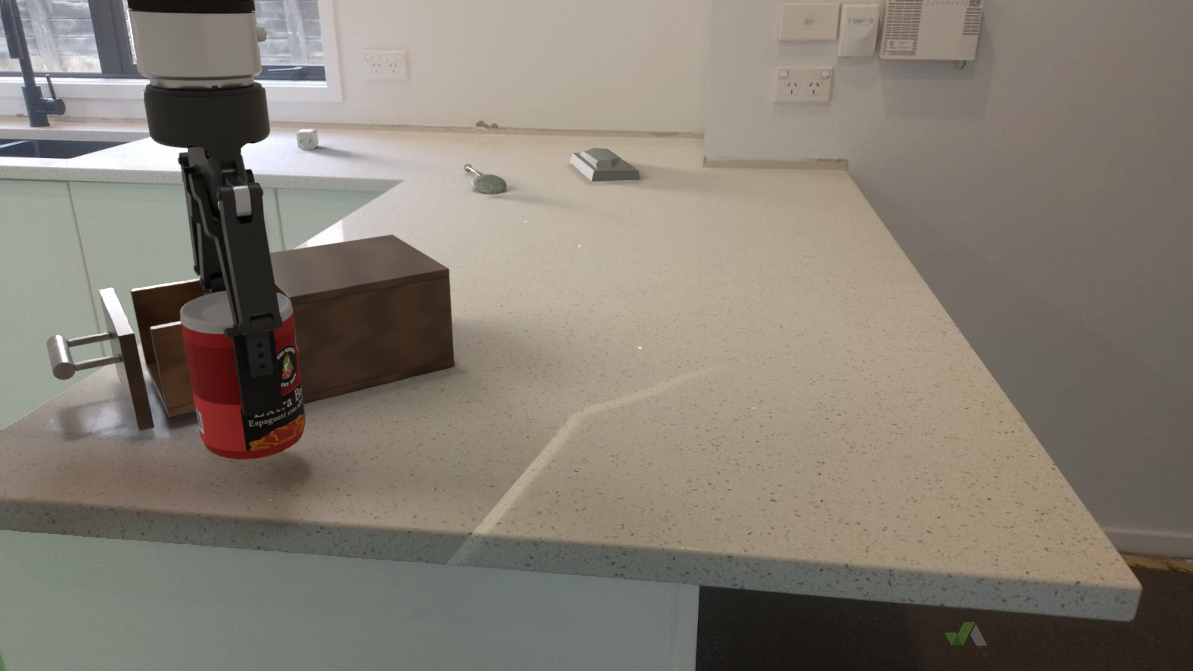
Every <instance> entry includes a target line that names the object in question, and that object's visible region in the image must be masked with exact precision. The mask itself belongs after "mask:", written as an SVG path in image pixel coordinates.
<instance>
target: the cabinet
mask: <svg viewBox="0 0 1193 671" xmlns="http://www.w3.org/2000/svg"><path fill="white" fill-rule="evenodd" d="M270 257H271V263H272V269H273V275H274V281H275V287H276V291H277V292H278V293H280V294H282V295H284V296H286V297H288V298H289V299H290V301H291V304H292V308H293V314H294V321H295V329H296V338H297V348H298V357H299V366H300V375H301V384H302V394H303V403H304V404H306V403H310V402H313V401H319V400H322V399H326V398H330V397H334V396H338V395H339V396H340V395H343V394H346V393H350V392H354V391H359V390H362V389H367V388H370V387H375V386H379V385H383V384H387V383H391V382H395V381H399V380H402V379H407V378H411V377H415V376H419V375H423V374H428V373H430V372H436V371H438V370H439V371H440V370H442V369H447V368H451V367H454V366H455V353H454V352H455V351H454V335H453V316H452V315H453V314H452V299H451V298H452V297H451V278H450V275H451V274H450V268H449V267H447V266H446V265H444V264H442V263H441V262H439V261H437V260H436V259H434V258H432V257H431V256H429V255H427V254H425V252H423V251H421V250H419V249H417V248H416V247H414V246H413V245H411V244H409V243H407V242H405V241H404V240H402V239H400V238H399V237H397V236H396V235H394V234H387V235H380V236H373V237H367V238H366V237H365V238H360V239H354V240H347V241H340V242H333V243H326V244H320V245H314V246H306V247H298V248H293V249H287V250H281V251H280V250H279V251H273V252H270Z"/></svg>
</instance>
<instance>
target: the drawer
mask: <svg viewBox="0 0 1193 671" xmlns="http://www.w3.org/2000/svg"><path fill="white" fill-rule="evenodd" d="M200 278H201V277H199V278H193V279H186V280H181V281H174V282H167V283H162V284H161V283H160V284H155V285H150V286H142V287H137V288H136V287H135V288H130V289H129V292H130V297H131V301H132V307H133V310H134V316H135V321H136V325H137V326H136V327H137V330H138V336H139V341H140V346H141V349H142V354H143V359H144V364H145V368H146V371H147V373H148V375H149V377H150V379H151V382H152V384H153V386H154V388H155V390H156V392H157V394H158V396H159V400H160V401H161V403H162V405H163V408H164V410H165V412H166V414H167V416H168V417H169V418H170V417H171V418H172V417H176V416H179V415H183V414H189V413H192V412H196V408H195V402H194V397H193V391H192V385H191V380H190V374H189V368H188V363H187V357H186V351H185V346H184V340H183V334H182V326H181V320H180V317H181V315H180V310H181V308H182V307H183V306H184V305H185V304H187V303H188V302H190V301H192V300H194V299H196V298H198V297H201V296H204V294H203V293H208V292H209V290H203V287H202V286H201V285H200ZM98 293H99V294H98V296H99V298H100V303H101V308H102V313H103V316H104V321H105V322H104V323H105V326H106V330H107V331H106V332H102V333H101V332H100V333H96V334H89V335H85V336H79V337H72V338H68V339H67V338H66V337H65V336H63V335H60V334H59V335H58V334H57V335H52V336H50V337H49V338H48V339H47V340H46V349H47V354H48V357H49V362H50V367H51V371H52V375H53V377H54V378H55V379H57V380H60V381H67V380H70V379H71V378H73V377H74V375H75V374H76V372H79V371H84V370H89V369H94V368H98V367H104V366H108V365H115V366H114V367H115V370H116V374H117V378H118V380H119V382H120V385H121V388H122V391H123V393H124V396H125V398H126V401H127V404H128V406H129V409H130V412H131V414H132V416H133V419H134V422H135V424H136V427H137V429H138V431H139V432H141V431H146V430H149V429H150V430H151V429H153V428H155V424H154V418H153V414H152V408H151V405H150V400H149V395H148V390H147V385H146V380H145V376H144V372H143V367H142V362H141V357H140V353H139V347H138V342H137V339H136V334H135V332H134V329H133V327H132V325H131V323H130V321H129V319H128V316H127V314H126V313H125V310H124V308H123V306H122V304H121V302H120V300H119V298H118V296H117V293H116V291H115V290H114V288H113V287H107V288H103V289H102V288H101V289H98ZM276 293H278V292H277V291H276ZM105 341H109V343H110V344H109V345H110V348H111V353H112V355H107V356H102V357H98V358H91V359H86V360H81V361H76V362H74V360H73V357H72V352H71V349H70V348H73V347H74V348H75V347H79V346H84V345H89V344H94V343H101V342H105Z"/></svg>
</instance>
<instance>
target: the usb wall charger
mask: <svg viewBox="0 0 1193 671" xmlns="http://www.w3.org/2000/svg"><path fill="white" fill-rule="evenodd" d="M295 136H296V144H297V148H298V149H299V150H314V149H316V147H318V145H319V135H318V130H317V129H315V128H301V129H300V130H299V131H297V133H296V135H295Z"/></svg>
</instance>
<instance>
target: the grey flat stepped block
mask: <svg viewBox="0 0 1193 671" xmlns="http://www.w3.org/2000/svg"><path fill="white" fill-rule="evenodd" d="M570 157H571V158H570V161H569V163H570V164H571V165H572V166H573V167H574V168H576V169H577V170H578V171H579V172H580V173H581V174H583V176H585V177H586V178H587V179H588V180H589V181H590V182H608V181H609V182H610V181H630V180H631V181H632V180H633V181H635V180H636V181H637V180H640V170H639V169H637V168H636V167H634V166H633V165H631V164H630V163H628V162H627V161H626V160H625V159H623V158H622V157H621V156H619V155H618V154H616V153H614V152H613V151H612V150H610V149H609V148H601V147H593V148H590V149H587V150H585V151H582V152H572V154H571V156H570Z"/></svg>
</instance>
